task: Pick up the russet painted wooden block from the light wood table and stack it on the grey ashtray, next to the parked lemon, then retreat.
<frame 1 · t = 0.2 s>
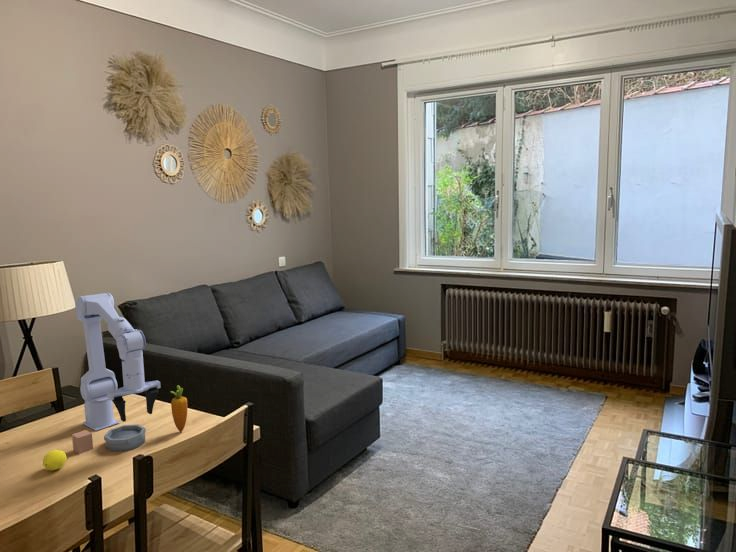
hand: (136, 416, 161), 10 cm above the table, fingers open, 7 cm apart
lemon: (55, 469, 151), on the table
carrot: (181, 432, 173), on the table
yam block: (83, 449, 162), on the table
grey ashtray: (126, 443, 166), on the table
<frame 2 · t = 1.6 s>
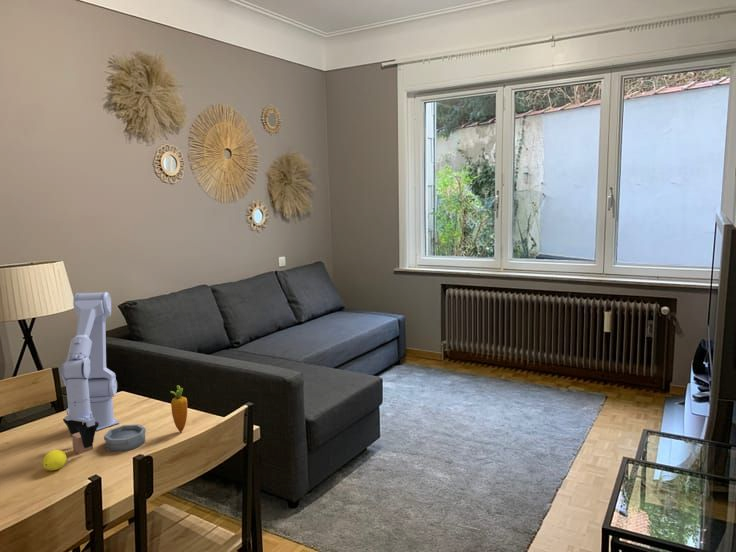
hand: (82, 443, 162), 2 cm above the table, fingers open, 7 cm apart
nothing on the table moved.
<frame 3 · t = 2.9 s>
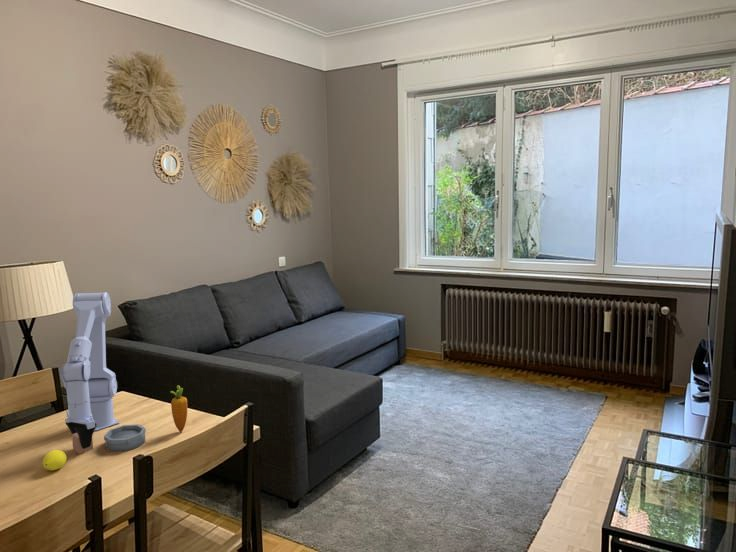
hand: (82, 445, 162), 1 cm above the table, fingers closed on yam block, 4 cm apart
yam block: (83, 449, 162), on the table, touching gripper
everything else where it was.
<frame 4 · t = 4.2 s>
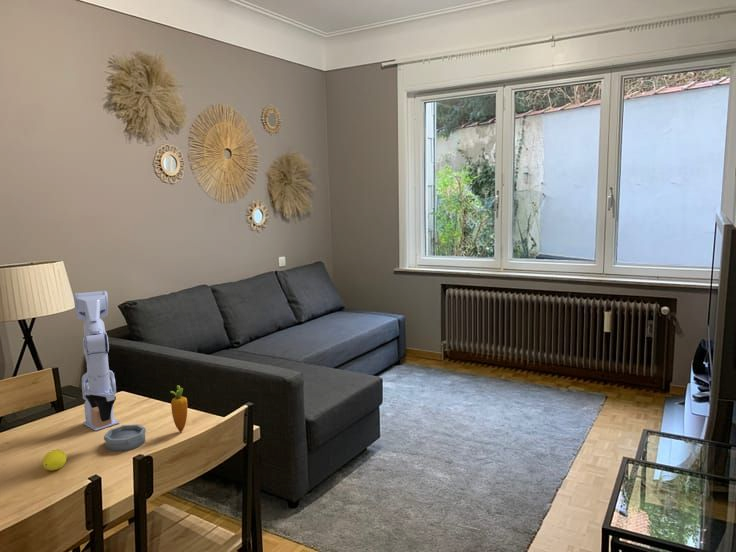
hand: (102, 418, 163), 9 cm above the table, fingers closed on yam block, 4 cm apart
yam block: (101, 424, 163), point 7 cm above the table, touching gripper
everything else where it was.
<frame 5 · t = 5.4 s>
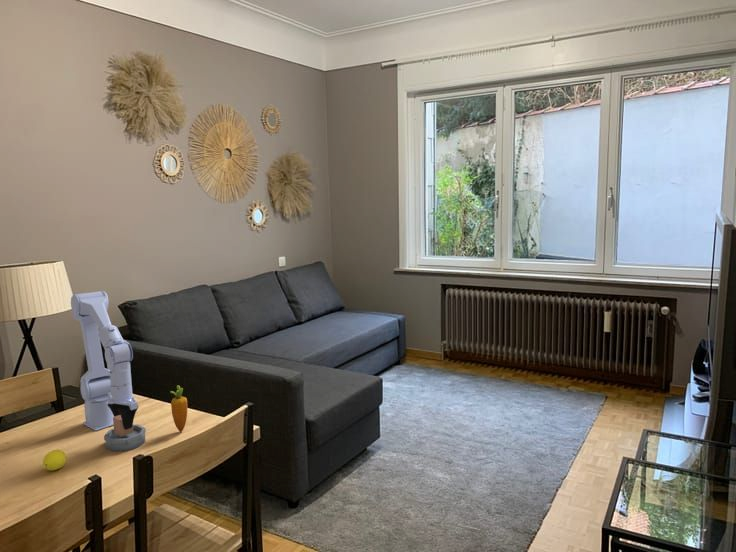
hand: (124, 426, 165), 5 cm above the table, fingers closed on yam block, 4 cm apart
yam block: (123, 432, 165), point 4 cm above the table, touching gripper
everything else where it was.
when the fingers open (5 cm above the table, at t = 6.0 s): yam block drops 1 cm, resting on grey ashtray.
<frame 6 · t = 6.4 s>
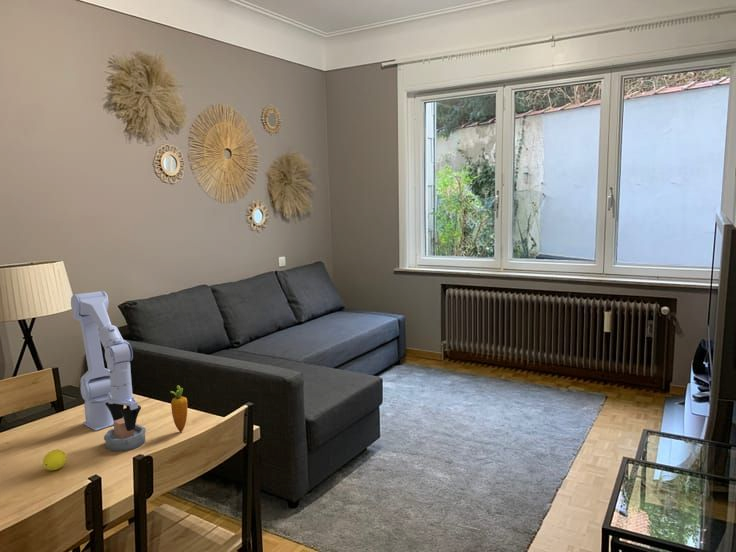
hand: (124, 426, 165), 5 cm above the table, fingers open, 7 cm apart
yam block: (124, 436, 165), point 2 cm above the table, touching grey ashtray
everything else where it was.
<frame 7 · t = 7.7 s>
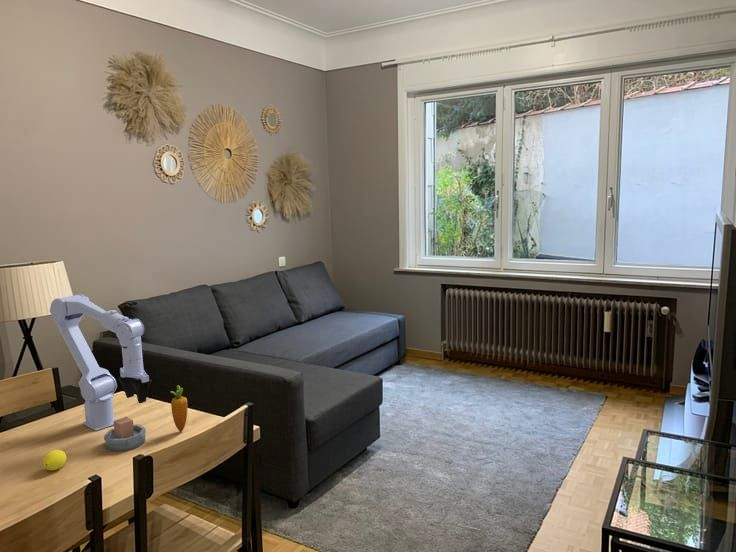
hand: (136, 399, 173), 10 cm above the table, fingers open, 7 cm apart
nothing on the table moved.
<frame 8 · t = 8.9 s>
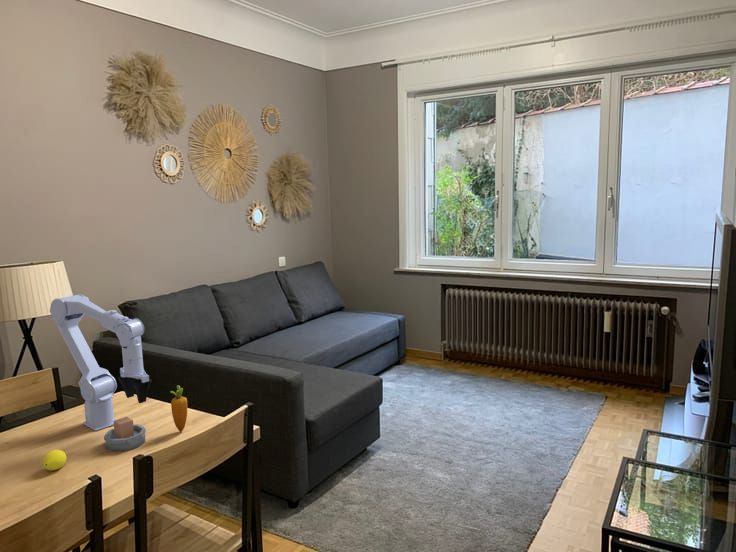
hand: (136, 399, 173), 10 cm above the table, fingers open, 7 cm apart
nothing on the table moved.
at the end: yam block inside the target area on the grey ashtray (0.3 cm from its centre), point 2.4 cm above the grey ashtray's base; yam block tilted 0°; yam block touching grey ashtray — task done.
